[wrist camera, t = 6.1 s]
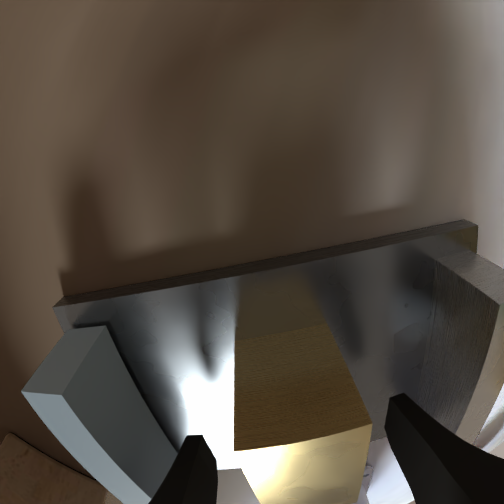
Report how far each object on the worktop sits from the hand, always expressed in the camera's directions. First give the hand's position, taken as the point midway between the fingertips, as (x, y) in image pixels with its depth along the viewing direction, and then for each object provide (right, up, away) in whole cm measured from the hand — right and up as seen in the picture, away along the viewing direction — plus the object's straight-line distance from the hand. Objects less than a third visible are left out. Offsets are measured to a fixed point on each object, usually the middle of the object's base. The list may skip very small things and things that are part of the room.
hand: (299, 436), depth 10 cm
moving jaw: (-7, -1, +2) cm, 8 cm away
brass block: (0, +1, +2) cm, 2 cm away
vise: (0, +1, +3) cm, 3 cm away
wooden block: (-20, -14, +8) cm, 26 cm away
